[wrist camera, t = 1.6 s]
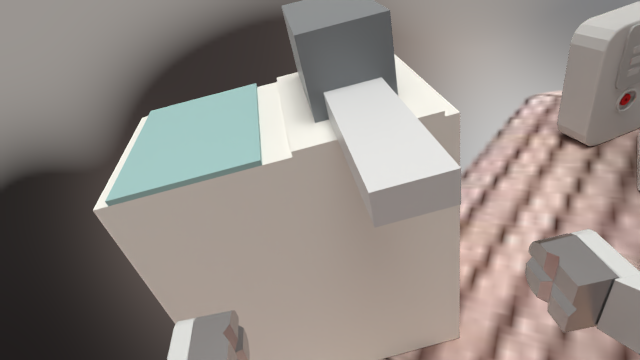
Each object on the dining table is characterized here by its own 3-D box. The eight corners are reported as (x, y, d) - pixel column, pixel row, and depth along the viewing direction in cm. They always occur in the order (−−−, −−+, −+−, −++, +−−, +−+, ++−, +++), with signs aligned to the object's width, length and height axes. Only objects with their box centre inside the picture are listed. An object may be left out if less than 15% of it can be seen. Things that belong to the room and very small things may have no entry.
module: (482, 198, 17) (488, 70, 14) (352, 233, 17) (326, 113, 14) (362, 58, 35) (352, -13, 31) (298, 75, 35) (281, 6, 31)
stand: (459, 337, 39) (460, 106, 24) (230, 400, 39) (89, 205, 24) (411, 243, 51) (391, 47, 36) (234, 291, 50) (140, 113, 35)
